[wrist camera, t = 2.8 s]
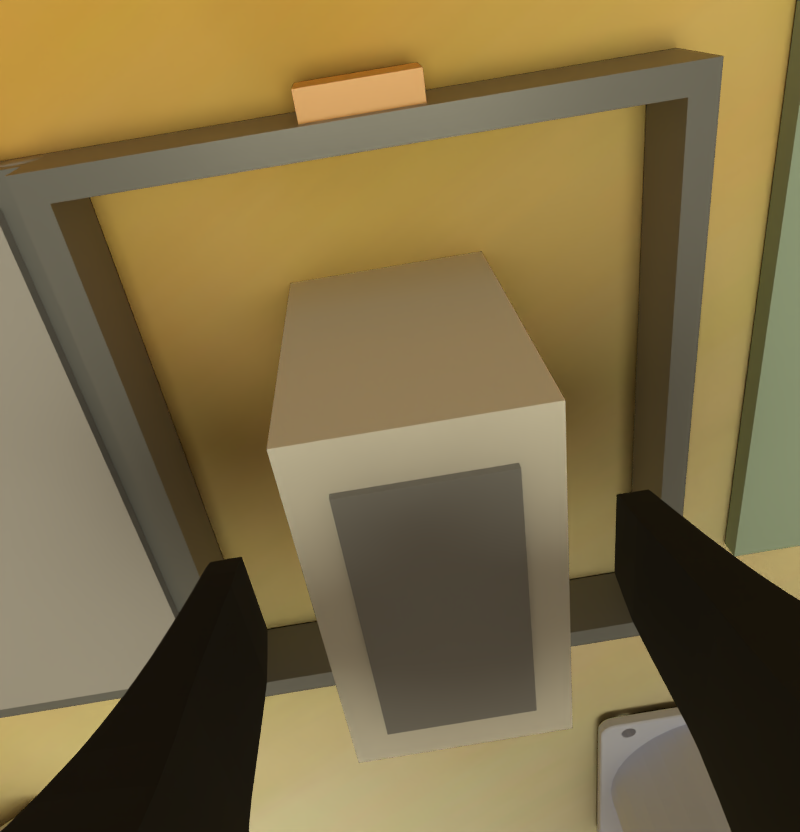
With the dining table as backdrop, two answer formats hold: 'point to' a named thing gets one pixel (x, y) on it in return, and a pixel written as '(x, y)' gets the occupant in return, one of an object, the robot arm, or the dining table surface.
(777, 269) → the rubber mat
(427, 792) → the dining table surface
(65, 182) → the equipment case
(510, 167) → the dining table surface
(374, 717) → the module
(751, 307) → the dining table surface
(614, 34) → the dining table surface
